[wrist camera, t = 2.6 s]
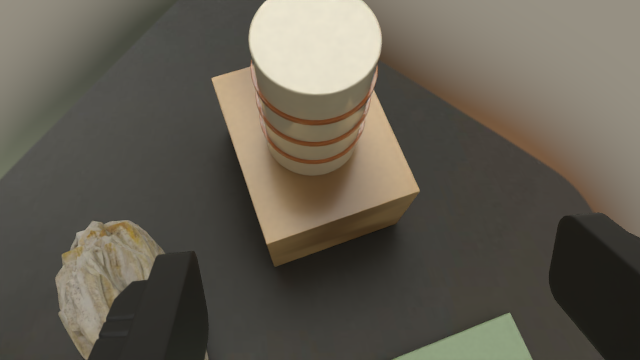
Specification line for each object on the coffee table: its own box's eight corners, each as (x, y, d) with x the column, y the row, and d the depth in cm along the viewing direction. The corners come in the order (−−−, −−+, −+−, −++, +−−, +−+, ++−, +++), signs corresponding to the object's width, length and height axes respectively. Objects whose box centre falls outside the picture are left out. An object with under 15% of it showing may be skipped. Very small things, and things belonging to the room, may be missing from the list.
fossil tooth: (151, 456, 32) (93, 248, 36) (239, 419, 33) (174, 218, 36) (68, 540, 21) (-5, 226, 24) (203, 481, 22) (115, 183, 25)
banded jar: (340, 78, 32) (354, -35, 23) (375, 160, 30) (407, 73, 21) (250, 105, 31) (227, -1, 22) (281, 191, 29) (270, 116, 20)
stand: (341, 95, 41) (350, 37, 33) (396, 223, 37) (420, 191, 30) (228, 130, 39) (210, 77, 32) (274, 267, 36) (266, 244, 28)
